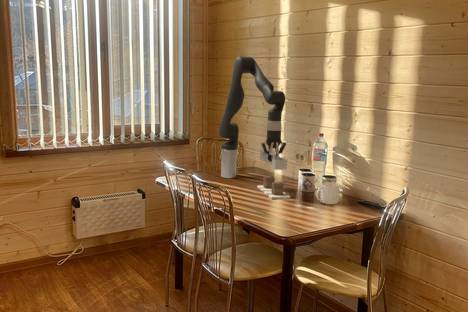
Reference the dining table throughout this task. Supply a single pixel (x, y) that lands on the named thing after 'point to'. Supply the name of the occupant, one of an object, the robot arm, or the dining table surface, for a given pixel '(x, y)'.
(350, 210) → the dining table surface
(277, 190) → the peg rack
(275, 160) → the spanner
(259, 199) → the dining table surface
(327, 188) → the mug
